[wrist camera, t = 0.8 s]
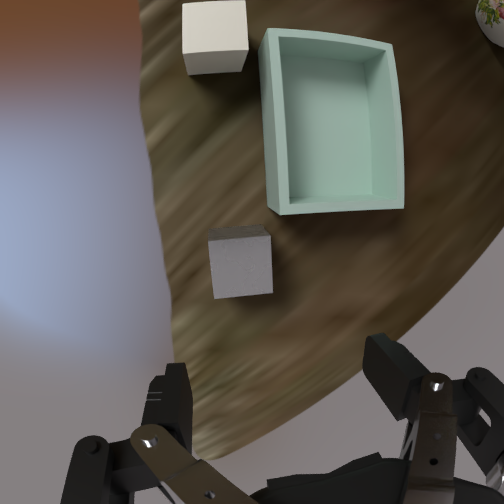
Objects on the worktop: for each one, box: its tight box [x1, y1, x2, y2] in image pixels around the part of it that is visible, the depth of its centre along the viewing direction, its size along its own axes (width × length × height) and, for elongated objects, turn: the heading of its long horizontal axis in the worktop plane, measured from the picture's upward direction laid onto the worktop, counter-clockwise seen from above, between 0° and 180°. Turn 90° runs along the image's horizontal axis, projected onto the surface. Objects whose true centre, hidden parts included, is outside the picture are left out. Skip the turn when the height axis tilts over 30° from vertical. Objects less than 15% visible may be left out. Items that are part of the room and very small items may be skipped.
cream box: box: [182, 1, 249, 75], centre depth 21 cm, size 5×5×6 cm
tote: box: [258, 28, 404, 215], centre depth 25 cm, size 16×12×6 cm
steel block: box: [208, 224, 273, 299], centre depth 28 cm, size 5×5×5 cm
